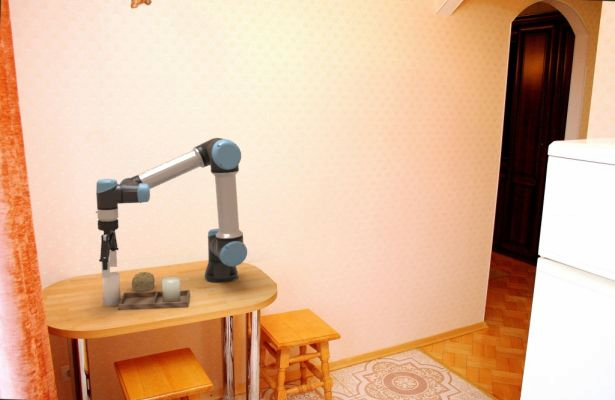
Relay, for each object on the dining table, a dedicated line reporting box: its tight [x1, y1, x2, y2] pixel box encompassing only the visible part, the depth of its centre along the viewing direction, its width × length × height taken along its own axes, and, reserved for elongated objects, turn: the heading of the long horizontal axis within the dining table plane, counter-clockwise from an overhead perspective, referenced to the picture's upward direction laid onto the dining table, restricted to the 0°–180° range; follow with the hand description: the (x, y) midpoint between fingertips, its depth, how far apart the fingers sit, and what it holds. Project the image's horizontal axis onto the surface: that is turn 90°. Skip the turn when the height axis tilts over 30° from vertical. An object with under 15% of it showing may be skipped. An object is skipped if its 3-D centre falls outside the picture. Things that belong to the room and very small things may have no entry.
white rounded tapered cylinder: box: [101, 271, 122, 308], centre depth 207 cm, size 6×6×12 cm
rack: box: [117, 289, 191, 311], centre depth 208 cm, size 26×13×3 cm, turn 99°
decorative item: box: [131, 271, 155, 292], centre depth 223 cm, size 10×10×10 cm
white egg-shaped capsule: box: [161, 276, 181, 303], centre depth 208 cm, size 7×7×9 cm
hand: (109, 271), depth 206 cm, fingers open, 13 cm apart
